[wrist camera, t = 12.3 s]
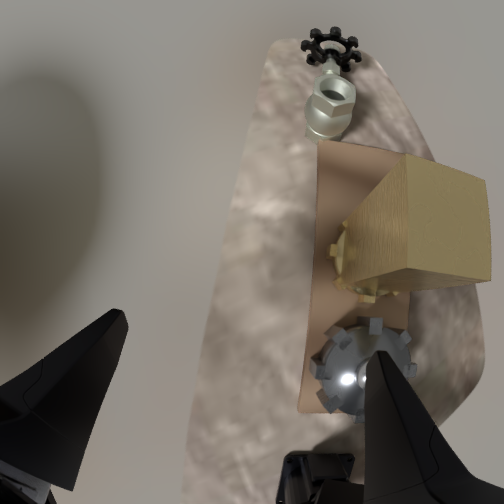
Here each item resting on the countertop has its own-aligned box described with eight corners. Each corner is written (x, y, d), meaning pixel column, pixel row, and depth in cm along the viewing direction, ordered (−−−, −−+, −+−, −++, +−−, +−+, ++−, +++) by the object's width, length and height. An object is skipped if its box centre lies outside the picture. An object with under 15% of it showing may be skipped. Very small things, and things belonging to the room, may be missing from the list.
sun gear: (391, 407, 20) (412, 422, 16) (302, 409, 20) (309, 429, 16) (405, 317, 21) (429, 319, 17) (315, 313, 21) (325, 315, 18)
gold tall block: (400, 306, 21) (501, 303, 9) (320, 297, 21) (382, 290, 10) (405, 225, 22) (493, 168, 10) (330, 210, 23) (384, 129, 11)
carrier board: (389, 406, 21) (395, 410, 19) (297, 408, 21) (298, 413, 20) (400, 158, 25) (404, 153, 23) (317, 144, 25) (319, 137, 24)
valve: (353, 157, 25) (354, 74, 27) (376, 117, 18) (368, 34, 20) (285, 143, 25) (298, 62, 27) (290, 99, 19) (303, 20, 21)
